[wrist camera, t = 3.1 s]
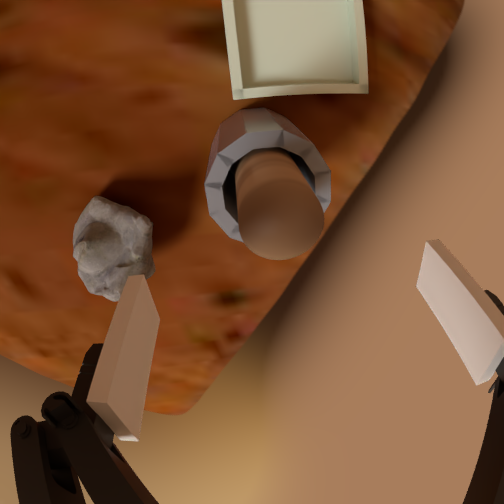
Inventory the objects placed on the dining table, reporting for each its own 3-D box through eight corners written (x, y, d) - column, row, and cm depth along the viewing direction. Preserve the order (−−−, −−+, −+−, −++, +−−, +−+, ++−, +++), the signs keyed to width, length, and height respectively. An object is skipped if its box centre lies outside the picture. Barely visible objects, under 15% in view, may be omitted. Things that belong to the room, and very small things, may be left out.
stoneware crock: (207, 113, 26) (196, 139, 17) (296, 104, 26) (330, 126, 17) (219, 194, 30) (216, 252, 22) (300, 185, 30) (330, 239, 22)
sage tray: (216, -49, 18) (215, -59, 15) (344, -49, 18) (354, -57, 16) (232, 97, 25) (233, 99, 23) (357, 90, 25) (368, 93, 23)
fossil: (109, 161, 27) (75, 194, 21) (188, 210, 31) (178, 256, 24) (69, 245, 32) (39, 291, 25) (137, 284, 35) (121, 337, 28)
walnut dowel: (230, 127, 26) (229, 155, 13) (277, 122, 26) (322, 146, 13) (237, 187, 28) (244, 268, 16) (282, 182, 29) (325, 258, 16)
